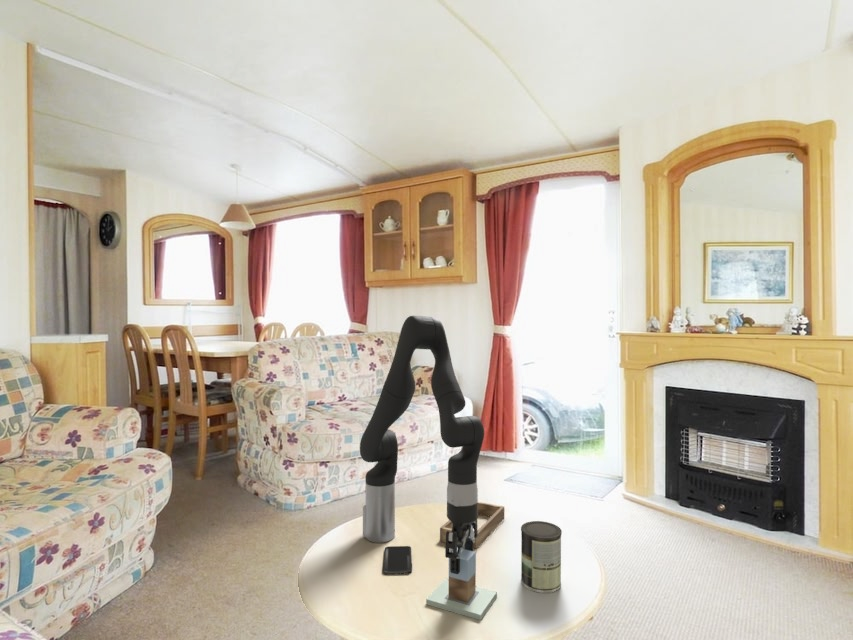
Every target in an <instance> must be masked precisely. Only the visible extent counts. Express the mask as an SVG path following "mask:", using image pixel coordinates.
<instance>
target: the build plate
mask: <svg viewBox="0 0 853 640" xmlns="http://www.w3.org/2000/svg"><path fill="white" fill-rule="evenodd" d="M497 597H498V591H497V590H496V591H495V590H493V589H488V588H485V587H481V586H478V585H476V593H475V594H474V595H473V596H472V598H471V599H470V600H469V602H468V603H467V602H463V601H460V600H456V599H453V598H449V578H446V577H445V578H444V579H443V580H442V582H440V584H439V585H438V586H437V587H436V588H435V589H434V590H433V591H432V592H431V594H429V595H428V597H427V598H426V599H425V600H426V601H425V603H426V605H428V606H431V607H435V608H437V609H442V610H444V611H448V612H452V613H455V614H457V615H462V616H465V617H469V618H473V619H476V620H477V621H478V620H479V621H482V619H483V618H484V616H485V615H486V613H487V612H488V610H489V609H490V607H491V606H492V604H493V603H494V602H495V600H496V599H497Z"/></svg>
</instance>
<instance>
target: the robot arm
mask: <svg viewBox="0 0 853 640" xmlns="http://www.w3.org/2000/svg"><path fill="white" fill-rule="evenodd" d="M416 350H430V352H431V353H432V355H433V358H434V366H433V371H432V373H431V378H430V386H431V391H432V393H433V396H434V397H433V398H434V400H435V403H436V405H437V408H438V413H439V425H440V426H439V428H440V429H439V430H440V437H441V440H442V442H443V443H444V444H445V445H446V446H447V447H449V448H452V449H453V448H461V447H462V448H461V451H460V452H458V453H456V454H454V455H452V456H450V457H449V458H448V462H447V485H446V517H447V519H448V521H449V520H450V521H451V522H452V523H453V526H452V530H451V532H449V531H447V532H446V542H445V552H444V553H445V555H444V556H445V558H447V559H449V558H450V572H451V573H454V574H459V573H460V554H461V550H462V549H465V550H470V551H474V542H475V537H476V538H477V536H478V517H479V514H478V502H479V501H478V500H479V498H478V497H479V494H478V493H479V490H478V489H479V488H478V479H477V477H478V476H477V475H478V473H477V471H478V469H477V466H478V461H479V458H480V453H481V450H482V447H483V442H484V438H485V427H484V424H483V423H482V420H481V419H480V418H479V417H478V416H476V415H475V416H474V415H468V416H467V415H466V416H458V417H456V416H455V415H456V414H458V413H461V412H462V411H463V410H464V408H465V407H466V399H465V396H464V394H463V391H462V389H461V387H460V384H459V382H458V380H457V377H456V374H455V371H454V366H453V363H452V357H451V351H450V348H449V344H448V339H447V335H446V331H445V328H444V325H443V323H442V321H441V320H440V319H439V318H437V317H432V316H423V315H409V316H407V317H406V319H405V320H404V321H403V324H402V327H401V329H400V333H399V337H398V341H397V345H396V348H395V352H394V355H393V359H392V362H391V366H390V368H389V370H388V373H387V376H386V379H385V381H384V383H383V386H382V388H381V390H380V391H381V392H380V395H379V398H378V400H377V404H376V406H375V409H374V411H373V413H372V415H371V418H370V420H369V422H368V424H367V426H366V428H365V430H364V432H363V434H362V436H361V439H360V443H359V454H360V455H359V456H360V457H361V458H362V460H363V461H365V462H366V463H376V464H375V465H374V466H373V467H372V468H370V469H369V470H368V471H367V472H366V474H365V505H363V506H362V537H363V538H365V539H366V540H367V541H369V542H371V543H386V542H387V543H388V542H389V541H392V540H393V539H395V537H396V534H395V533H396V528H395V527H396V526H395V525H396V522H395V521H396V475H397V473H398V456H399V455H398V454H399V442H398V439H397V438H398V437H397V435H396V433H395V432H394V431H393V430H391V429H389V428H390V427H391V426H392V425H393V424H394V423H396V421H397V420H399V418H400V417H402V415H404V413H406V411H407V409H408V408H409V406H410V405H411V402H412V399H413V397H414V394H415V391H416V381H415V376H414V372H413V370H412V366H411V362H412V357H413V354H414V352H415V351H416ZM465 541H466V542H465ZM457 542H459V543H461V544H457ZM457 548H458V550H457ZM474 552H475V551H474Z"/></svg>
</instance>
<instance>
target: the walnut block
mask: <svg viewBox="0 0 853 640" xmlns="http://www.w3.org/2000/svg"><path fill="white" fill-rule="evenodd" d="M476 575H477V574H476V572H475V574H474V575H473V576H472V577H471V578H470V580H469V581H468V582H467V581H464V580H460V579H456V578H452V577H449V576H448V579H449V598H453V599H456V600H460V601H463V602H467V603H468V602H469V600H470V599H471V598H472V596H473V595H474V594H475V593H476V586H477V585H476V582H477V581H476V577H477V576H476Z"/></svg>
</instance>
